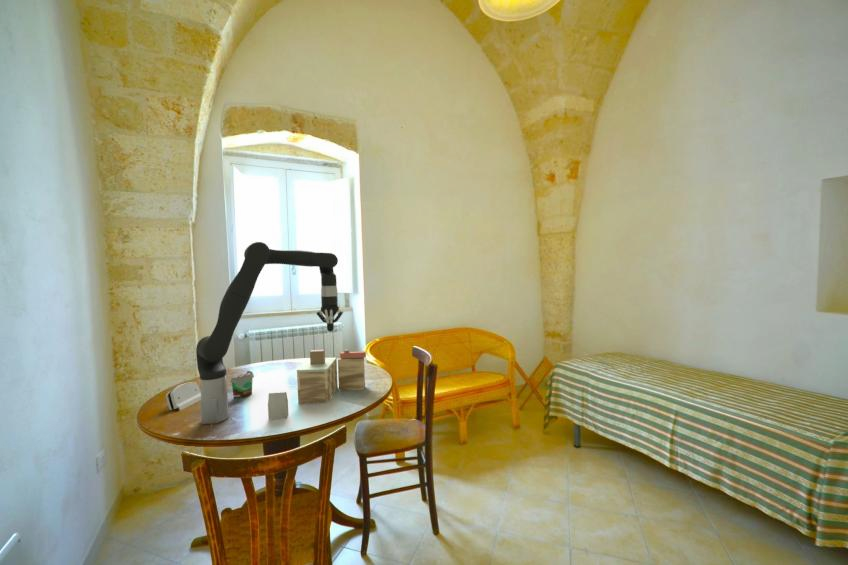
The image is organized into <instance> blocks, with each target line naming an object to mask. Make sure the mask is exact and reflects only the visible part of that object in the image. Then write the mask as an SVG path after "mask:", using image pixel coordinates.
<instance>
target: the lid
mask: <svg viewBox="0 0 848 565" xmlns="http://www.w3.org/2000/svg"><path fill="white" fill-rule="evenodd" d="M325 350H326V349H311V350H310V351H309V359H307V360H306V361H305V362H304V363H303V364H302V365H301V366H299V367H298V368H297V369H296V373H297V372H323V371H328V369H329V368H330V367H331V366H332V365H333V363H334V362H335V361H336V360H337V361H338V358H337V357H336V356H335V357H326V351H325Z"/></svg>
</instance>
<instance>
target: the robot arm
mask: <svg viewBox="0 0 848 565" xmlns="http://www.w3.org/2000/svg"><path fill="white" fill-rule="evenodd" d="M243 257H244V260H243V263H242V265H241V268H240V270H239V271H238V273H236V275H235V277H234V279H233V280H232V281H231V282H230V284H229V286H228V288H226V291H225V293H224V295H223V297H222V298H221V302H220V305H219V309H218V316H217V321H216V325H215V327H214V329H213V330H212V332H211V334H210V335H207V336H204V337H202V338H201V339H200V340H199V341H198V342H197V344H196V347H195V353H196V355H195V356H196V364H197V371H198V374H199V381H200V382H199V383H200V386H199V388H200V390H201V400H199V401H200V415H201V416H200V417H201V419H200V420H201V424H202V425H209V424H211V425H212V424H219V423H220V422H223V421H225V420H227V419H228V418H229V417H230V416H229V415H230V414H229V401H228V394H229V393H228V380H227V378H228V376H227V368H226V366H225V364H224V360H223V358H224V357H225V356H226V354H227V352H228V350H229V348H230V344H231V342H232V339H233V336H234V333H235V330H236V328H237V326H238V324H239V322H240V320H241V318H242V316H243V314H244V312H245V309H246V308H247V306H248V303H249V301H250V298H251V296H252V294H253V291H254V289H255V285H256V284H257V280H258V278H259V275H260V274H261V271H262V270H263V269H264V267H265V265H274V264H275V265H290V266H297V267H311V268H312V267H316V268H317V267H319V268H318V269H319V273H320V277H321V279H320V280H321V281H320V283H321V286H320V288H321V289H320V290H321V291H320V293H321V294H320V296H321V297H320V298H321V307H320V310H319V311H317V312H316V316H318V318H319V319H320V320H321V322H323V323H326V330H327V331H328V332H333V331H334V329H335V326H334V324H335V323H337V322H338V321H339V320H340V318H341V317H342V315H343V314H344V311H341V310H340V307H339V306H338V305H339V302H338V301H339V300H338V287H337V285H338V284H337V274H336V273H335V272H334V268H335V267H336V266H337V265H338V263H339V259H338V256H337V255H336V254H334V253H332V252H315V251H309V250H301V249H300V250H299V249H298V250H297V249H294V250H291V249H290V250H284V249H283V250H282V249H281V250H280V249H271V248H270V247H269V246H268V245H267V244H266V243H265V242H262V241H255V242H253V243H252V242H251V243H250V245H248V246H247V247H246V249H245V250H244V253H243ZM335 316H336V317H335Z"/></svg>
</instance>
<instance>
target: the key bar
mask: <svg viewBox="0 0 848 565" xmlns="http://www.w3.org/2000/svg"><path fill="white" fill-rule="evenodd" d="M339 357H340V358H364V359H365V358H366V357H367V351H366V350H365V351H350V349H344V351H340V352H339Z"/></svg>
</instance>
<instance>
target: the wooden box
mask: <svg viewBox="0 0 848 565" xmlns="http://www.w3.org/2000/svg"><path fill="white" fill-rule="evenodd" d="M365 372H366V371H365V358H340V356H339V357H338V358H337V360H336V361H335V362H334V363H333V365H332V366H331V367H330V368H329V369H328V371H323V372H297V371H296V378H297V379H296V380H297V382H296V383H297V399H298V400H297V402H298V404H301V405H302V404H303V405H304V404H328V403H329V402H330V401H331V399H332V398H333V396H334V394H335V392H336V391H337V390H336V389H338V391H339V390H342V391H364V390H365V389H366V376H365Z"/></svg>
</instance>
